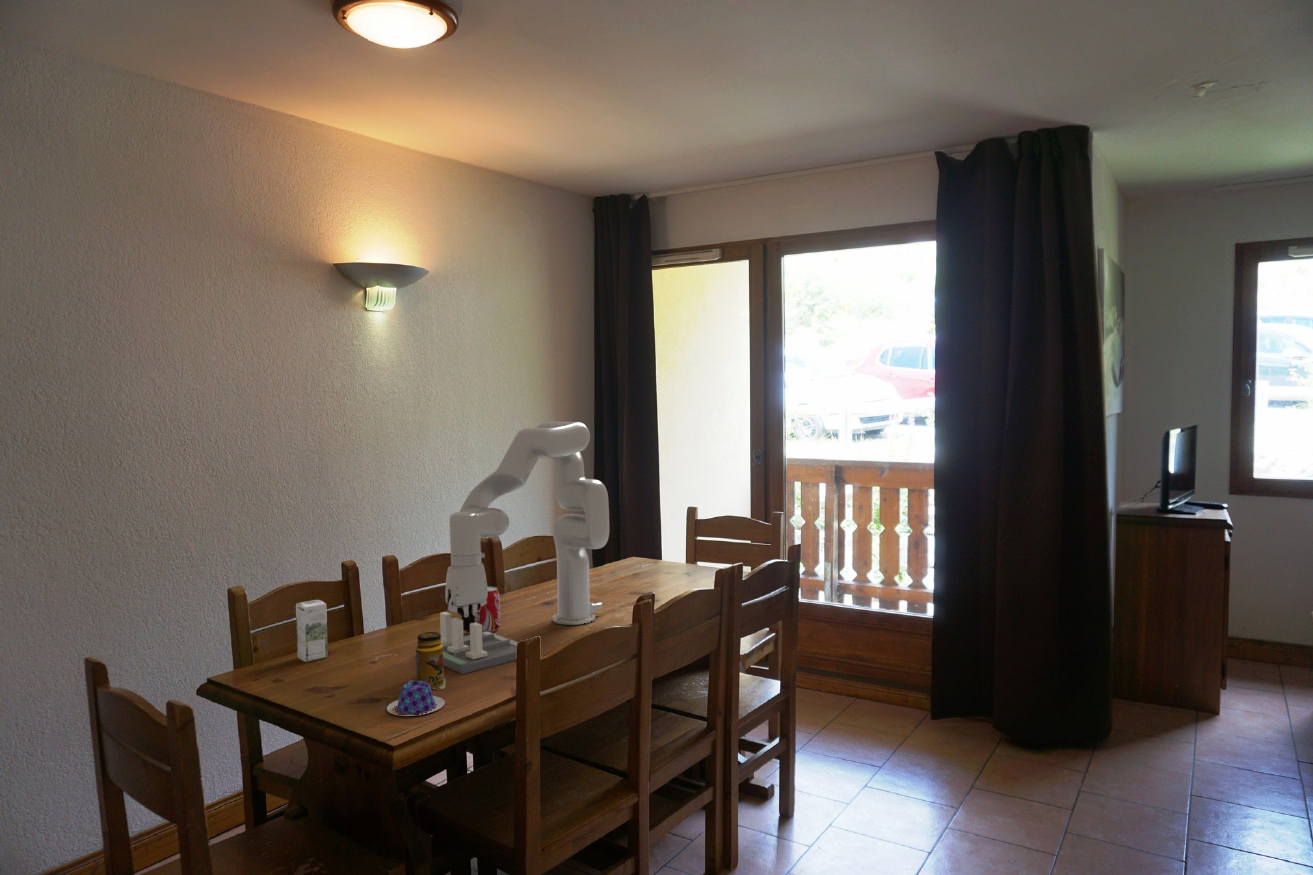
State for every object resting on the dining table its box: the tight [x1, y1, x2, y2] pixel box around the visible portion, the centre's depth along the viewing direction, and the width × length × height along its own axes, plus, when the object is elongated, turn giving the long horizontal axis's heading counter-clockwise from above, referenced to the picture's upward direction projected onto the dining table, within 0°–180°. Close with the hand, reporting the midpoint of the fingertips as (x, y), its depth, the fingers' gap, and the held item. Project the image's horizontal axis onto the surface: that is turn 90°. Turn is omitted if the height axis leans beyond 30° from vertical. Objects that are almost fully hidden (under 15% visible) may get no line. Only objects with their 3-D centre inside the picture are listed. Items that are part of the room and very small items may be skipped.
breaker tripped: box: [447, 617, 469, 653], centre depth 213 cm, size 4×4×8 cm
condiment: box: [408, 631, 447, 690], centre depth 194 cm, size 7×8×12 cm
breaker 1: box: [439, 611, 452, 645], centre depth 219 cm, size 4×4×8 cm
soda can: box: [475, 586, 501, 633], centre depth 240 cm, size 7×7×12 cm
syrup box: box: [295, 599, 328, 663], centre depth 216 cm, size 6×6×14 cm
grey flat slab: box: [442, 631, 519, 675], centre depth 217 cm, size 20×22×3 cm
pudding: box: [386, 681, 446, 717], centre depth 181 cm, size 12×12×5 cm
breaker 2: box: [466, 623, 487, 659], centre depth 208 cm, size 4×4×8 cm
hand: (468, 630), depth 215 cm, fingers closed
